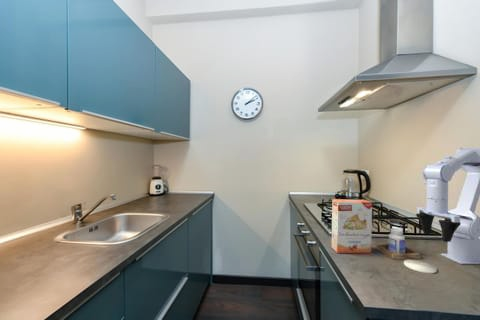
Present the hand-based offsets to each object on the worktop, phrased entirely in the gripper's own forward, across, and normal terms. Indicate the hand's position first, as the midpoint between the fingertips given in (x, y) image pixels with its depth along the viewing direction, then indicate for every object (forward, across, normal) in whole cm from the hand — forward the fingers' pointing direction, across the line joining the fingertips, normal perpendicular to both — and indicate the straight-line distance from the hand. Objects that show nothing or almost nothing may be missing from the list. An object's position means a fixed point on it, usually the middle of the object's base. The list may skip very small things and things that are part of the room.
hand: (436, 237), depth 78 cm
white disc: (+10, 0, -6) cm, 12 cm away
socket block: (+10, -11, -6) cm, 16 cm away
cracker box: (+11, -14, -23) cm, 29 cm away
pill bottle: (+11, -11, -6) cm, 17 cm away
